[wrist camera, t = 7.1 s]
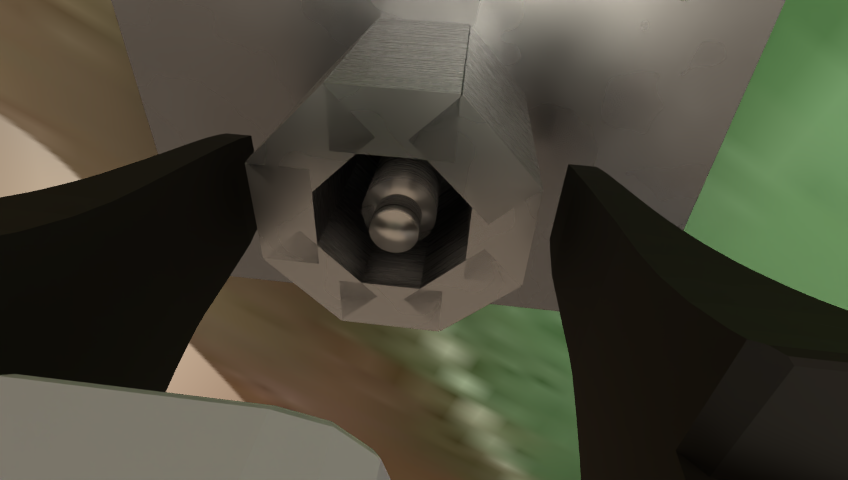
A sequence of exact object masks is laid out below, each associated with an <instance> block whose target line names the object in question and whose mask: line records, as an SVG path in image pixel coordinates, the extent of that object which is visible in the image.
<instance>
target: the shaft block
mask: <svg viewBox="0 0 848 480" xmlns="http://www.w3.org/2000/svg"><path fill="white" fill-rule="evenodd" d="M111 1H112V4H113V7H114V11H115V14H116V17H117V20H118V24H119V27H120V30H121V34H122V37H123V40H124V43H125V47H126V50H127V53H128V57H129V60H130V63H131V66H132V70H133V73H134V76H135V80H136V83H137V86H138V89H139V93H140V96H141V99H142V103H143V106H144V109H145V112H146V116H147V119H148V122H149V126H150V129H151V132H152V135H153V139H154V142H155V145H156V148H157V152H158V154H161V153H164V152H167V151H169V150H172V149H175V148H178V147H181V146H183V145H186V144H189V143H192V142H195V141H198V140H201V139H204V138H207V137H211V136H215V135H219V134H225V133H228V134H239V135H250V136H252V142H253V148H254V152H255V150H256V149H257V148H258V147H259V146H260V145H261V144H262V143H263V141H264V140H265V139H266V138H267V137H268V136H269V135H270V134H271V133H272V131H273V130H274V129H275V128H276V127H277V126H278V125H279V124H280V122H281V121H282V120H283V119H284V118H285V117H286V116H287V115H288V114H289V112H290V111H291V110H292V109H293V108H294V107H295V106H296V105H297V103H298V102H299V101H300V100H301V99H302V98H303V97H304V96H305V95H306V93H307V92H308V91H309V90H310V89H311V88H312V87H313V86H314V84H315V83H316V82H317V81H318V80H319V79H320V78H321V77H322V76H323V75H324V74H325V73H326V72H327V70H328V69H329V68H330V67H331V66H332V65H333V64H334V63H335V62H336V61H337V60H338V59H339V58H340V57H341V56H342V55H343V54H344V53H345V52H346V51H347V50H348V49H349V48H350V47H351V46H352V45H353V44H354V43H355V42H356V41H357V40H358V39H359V38H360V37H361V36H362V35H363V33H364V32H365V31H366V30H367V29H368V28H369V27H370V26H371V25H372V24H373V23H374V22H375V21H376V20H377V19H378V18H394V19H408V20H421V21H435V22H449V23H462V24H470V25H472V27H473V28H474V29H475V30H476V32H477V33H478V34H479V36H480V37H481V38H482V39H483V41H484V42H485V43H486V44H487V46H488V47H489V48H490V50H491V51H492V52H493V53H494V55H495V56H496V57H497V59H498V60H499V61H500V62H501V64H502V65H503V66H504V67H505V69H506V70H507V71H508V73H509V74H510V75H511V76H512V78H513V79H514V80H515V82H516V83H517V84H518V85H519V87H520V88H521V89H522V90H523V92H524V93H525V97H526V102H527V107H528V113H529V118H530V123H531V129H532V134H533V139H534V145H535V150H536V155H537V161H538V166H539V171H540V176H541V182H542V187H543V194H542V199H541V203H540V208H539V213H538V217H537V222H536V226H535V231H534V235H533V240H532V244H531V249H530V253H529V258H528V262H527V267H526V271H525V276H524V280H523V285H521V287H519V288H517V289H516V290H514V291H512V292H510V293H508V294H506V295H505V296H503V297H501V298H499V299H497V300H496V301H494V302H492V303H490V304H497V305H506V306H515V307H525V308H534V309H543V310H553V311H559V307H558V302H557V297H556V293H555V288H554V283H553V278H552V272H551V258H550V235H551V231H552V227H553V223H554V219H555V215H556V211H557V207H558V203H559V199H560V195H561V191H562V187H563V183H564V179H565V175H566V171H567V167H568V164H573V165H584V166H596V167H598V168H600V169H601V170H603V171H604V172H606V173H607V174H608V175H610V176H611V177H612V178H614V179H615V180H616V181H617V182H619V183H620V184H621V185H623V186H624V187H625V188H626V189H628V190H629V191H630V192H631V193H633V194H634V195H635V196H636V197H638V198H639V199H640V200H641V201H643V202H644V203H645V204H647V205H648V206H649V207H651V208H652V209H653V210H655V211H656V212H657V213H659V214H660V215H661V216H663V217H664V218H666V219H667V220H668V221H670V222H671V223H673V224H674V225H676V226H677V227H679V228H680V229H682V230H684V228H685V225H686V223H687V221H688V219H689V216H690V214H691V212H692V210H693V207H694V205H695V203H696V201H697V198H698V196H699V194H700V192H701V189H702V187H703V185H704V183H705V180H706V178H707V176H708V174H709V171H710V169H711V167H712V165H713V162H714V160H715V158H716V156H717V153H718V151H719V149H720V147H721V144H722V142H723V140H724V138H725V135H726V133H727V131H728V129H729V126H730V124H731V122H732V120H733V117H734V115H735V113H736V111H737V108H738V106H739V104H740V102H741V99H742V97H743V95H744V93H745V90H746V88H747V86H748V84H749V81H750V79H751V77H752V75H753V72H754V70H755V68H756V66H757V63H758V61H759V59H760V57H761V54H762V52H763V50H764V48H765V45H766V43H767V41H768V39H769V36H770V34H771V32H772V30H773V27H774V25H775V23H776V21H777V18H778V16H779V14H780V12H781V9H782V7H783V5H784V3H785V0H111ZM442 177H443V176H442V175H441V174H440V173H439V172H438V171H437V170H436V169H435V168H434V167H433V166H432V165H431V164H430V163H429V162H428V160H423V159H412V158H401V157H390V156H381V158H380V160H379V163H378V166H377V168H376V171H375V173H374V176H373V178H372V181H371V183H370V186H369V188H368V191H367V193H366V196H365V198H364V201H363V204H362V216H363V219H364V222H365V224H366V225H367V227H368V228H369V233H370V237H371V239H372V241H373V242H374V243H375V244H376V245H377V246H378V247H379V248H381V249H383V250H385V251H388V252H393V253H400V252H405V251H407V250H409V249H411V248H412V247H413V246H414V245H415V244H416V242H418V241H420V240H422V239H424V238H425V237H426V236H427V235H428V234H429V233H430V232H431V231H432V229H433V227H434V225H435V222H436V215H437V209H438V202H439V196H440V190H441V183H442ZM230 276H235V277H245V278H254V279H263V280H273V281H282V282H291V283H293V282H292V281H291V280H289V279H288V278H287V277H286V276H284V275H283V274H282V273H281V272H279V271H278V270H277V269H275V268H274V267H273V266H272V265H270V264H269V263H268V262H267V261H265V260H264V258H263V256H262V250H261V245H260V240H259V235H258V230H257V231H256V233H255V235H254V237H253V239H252V241H251V244H250V245H249V247H248V248H247V250H246V252H245V253H244V255H243V256H242V258H241V259H240V261H239V263H238V264H237V266H236V267H235V269H234V270H233V272H232V273H231V275H230Z"/></svg>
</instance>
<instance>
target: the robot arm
mask: <svg viewBox="0 0 848 480" xmlns="http://www.w3.org/2000/svg"><path fill="white" fill-rule="evenodd" d="M253 153H254V148H253V142H252V136H250V135H239V134H228V133H225V134H219V135H215V136H211V137H207V138H204V139H201V140H198V141H195V142H192V143H189V144H186V145H183V146H181V147H178V148H175V149H172V150H169V151H167V152H164V153H161V154H158V155H156V156H153V157H150V158H147V159H144V160H141V161H138V162H135V163H132V164H129V165H126V166H123V167H120V168H117V169H114V170H111V171H108V172H105V173H102V174H99V175H95V176H92V177H89V178H85V179H81V180H78V181H74V182H70V183H67V184H62V185H58V186H54V187H50V188H47V189H42V190H37V191H33V192H28V193H22V194H17V195H12V196H6V197H1V198H0V480H391V479H390V477H389V475H388V473H387V471H386V469H385V467H384V465H383V462H382V460H381V458H380V457H379V456H378V455H377V454H376V453H375V451H374V450H373V449H372V448H370V447H369V446H367V445H366V444H364V443H363V442H361V441H360V440H358V439H357V438H355V437H354V436H352V435H351V434H349V433H348V432H346V431H345V430H343V429H342V428H340V427H339V426H338V425H336V424H335V423H333V422H332V421H328V420H324V419H321V418H317V417H314V416H310V415H306V414H303V413H299V412H296V411H292V410H288V409H285V408H281V407H278V406H273V405H265V404H256V403H248V402H240V401H231V400H223V399H215V398H207V397H199V396H190V395H183V394H174V393H167V392H166V390H167V388H168V385H169V383H170V381H171V379H172V377H173V375H174V372H175V370H176V368H177V366H178V364H179V362H180V360H181V358H182V356H183V354H184V352H185V349H186V348H187V346H188V344H189V342H190V340H191V338H192V336H193V334H194V332H195V330H196V328H197V326H198V325H199V323H200V321H201V320H202V318H203V316H204V314H205V313H206V311H207V310H208V308H209V307H210V305H211V304H212V302H213V301H214V299H215V298H216V296H217V295H218V293H219V292H220V290H221V289H222V287H223V285H224V284H225V282H226V281H227V279H228V278H229V276H230V275H231V273H232V272H233V270H234V269H235V267H236V266H237V264H238V263H239V261H240V259H241V258H242V256H243V255H244V253H245V252H246V250H247V248H248V247H249V245H250V244H251V241H252V239H253V237H254V235H255V233H256V231H257V224H256V219H255V214H254V209H253V203H252V198H251V193H250V188H249V183H248V177H247V172H246V167H245V163H246V160H247V159H248V158H249V157H250V156H251V155H252V154H253ZM550 258H551V272H552V278H553V283H554V288H555V293H556V297H557V302H558V307H559V311H560V316H561V320H562V325H563V329H564V334H565V338H566V343H567V347H568V352H569V357H570V363H571V368H572V375H573V385H574V395H575V405H576V416H577V428H578V440H579V453H580V468H581V480H848V311H847V310H845V309H842V308H839V307H837V306H834V305H831V304H829V303H826V302H824V301H821V300H818V299H816V298H814V297H811V296H809V295H806V294H804V293H802V292H799V291H797V290H794V289H792V288H790V287H787V286H785V285H783V284H781V283H779V282H777V281H775V280H772V279H770V278H768V277H766V276H764V275H762V274H760V273H757V272H755V271H753V270H751V269H749V268H747V267H745V266H743V265H741V264H739V263H737V262H735V261H734V260H732V259H730V258H728V257H726V256H725V255H723V254H721V253H719V252H718V251H716V250H714V249H712V248H710V247H709V246H707V245H705V244H703V243H702V242H700V241H699V240H697V239H695V238H694V237H692V236H691V235H689V234H688V233H686V232H685V231H683V230H682V229H680V228H679V227H677V226H676V225H674V224H673V223H671V222H670V221H668V220H667V219H666V218H664V217H663V216H661V215H660V214H659V213H657V212H656V211H655V210H653V209H652V208H651V207H649V206H648V205H647V204H645V203H644V202H643V201H641V200H640V199H639V198H638V197H636V196H635V195H634V194H633V193H631V192H630V191H629V190H628V189H626V188H625V187H624V186H623V185H621V184H620V183H619V182H617V181H616V180H615V179H614V178H612V177H611V176H610V175H608V174H607V173H606V172H604V171H603V170H601V169H600V168H598V167H596V166H584V165H573V164H568V167H567V171H566V175H565V179H564V183H563V187H562V191H561V195H560V199H559V203H558V207H557V211H556V215H555V219H554V223H553V227H552V231H551V235H550Z"/></svg>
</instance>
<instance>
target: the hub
mask: <svg viewBox="0 0 848 480" xmlns="http://www.w3.org/2000/svg"><path fill="white" fill-rule="evenodd" d="M381 156H390V157H401V158H412V159H423V160H428V162H429V163H430V164H431V165H432V166H433V167H434V168H435V169H436V170H437V171H438V172H439V173H440V174H441V175H442V176H443V177H442V183H441V190H440V196H439V202H438V209H437V215H436V222H435V225H434V227H433V229H432V231H431V232H430V233H429V234H428V235H427V236H426V237H425V238H424V239H422V240H420V241H418V242H416V244H415V245H414V246H413V247H412V248H411V249H409V250H407V251H405V252H400V253H393V252H388V251H385V250H383V249H381V248H379V247H378V246H377V245H376V244H375V243H374V242H373V241H372V239H371V237H370V233H369V228H368V227H367V225H366V224H365V222H364V219H363V216H362V204H363V201H364V198H365V196H366V193H367V191H368V188H369V186H370V183H371V181H372V178H373V176H374V173H375V171H376V168H377V166H378V163H379V160H380V158H381ZM245 167H246V172H247V177H248V183H249V188H250V193H251V198H252V203H253V209H254V214H255V219H256V224H257V230H258V235H259V240H260V245H261V250H262V256H263V258H264V260H265V261H267V262H268V263H269V264H270V265H272V266H273V267H274V268H275V269H277V270H278V271H279V272H281V273H282V274H283V275H284V276H286V277H287V278H288V279H289V280H291V281H292V282H293V283H294V284H296V285H297V286H298V287H300V288H301V289H302V290H303V291H305V292H306V293H307V294H308V295H310V296H311V297H312V298H314V299H315V300H316V301H317V302H319V303H320V304H321V305H322V306H324V307H325V308H326V309H328V310H329V311H330V312H331V313H333V314H334V315H335V316H336V317H338V318H339V319H340V320H342V321H350V322H360V323H369V324H378V325H387V326H396V327H405V328H414V329H423V330H432V331H439V330H440V331H441V330H443V329H445V328H447V327H448V326H450V325H452V324H454V323H456V322H458V321H459V320H461V319H463V318H465V317H467V316H468V315H470V314H472V313H474V312H476V311H477V310H479V309H481V308H483V307H485V306H487V305H488V304H490V303H492V302H494V301H496V300H497V299H499V298H501V297H503V296H505V295H506V294H508V293H510V292H512V291H514V290H516V289H517V288H519V287H521V285H523V280H524V276H525V271H526V267H527V262H528V258H529V253H530V249H531V244H532V240H533V235H534V231H535V226H536V222H537V217H538V213H539V208H540V203H541V199H542V194H543V187H542V182H541V176H540V171H539V166H538V161H537V155H536V150H535V145H534V139H533V134H532V129H531V123H530V118H529V113H528V107H527V102H526V97H525V93H524V92H523V90H522V89H521V88H520V87H519V85H518V84H517V83H516V82H515V80H514V79H513V78H512V76H511V75H510V74H509V73H508V71H507V70H506V69H505V67H504V66H503V65H502V64H501V62H500V61H499V60H498V59H497V57H496V56H495V55H494V53H493V52H492V51H491V50H490V48H489V47H488V46H487V44H486V43H485V42H484V41H483V39H482V38H481V37H480V36H479V34H478V33H477V32H476V30H475V29H474V28H473V27H472V25H470V24H462V23H449V22H435V21H421V20H408V19H394V18H378V19H377V20H376V21H375V22H374V23H373V24H372V25H371V26H370V27H369V28H368V29H367V30H366V31H365V32H364V33H363V35H362V36H361V37H360V38H359V39H358V40H357V41H356V42H355V43H354V44H353V45H352V46H351V47H350V48H349V49H348V50H347V51H346V52H345V53H344V54H343V55H342V56H341V57H340V58H339V59H338V60H337V61H336V62H335V63H334V64H333V65H332V66H331V67H330V68H329V69H328V70H327V72H326V73H325V74H324V75H323V76H322V77H321V78H320V79H319V80H318V81H317V82H316V83H315V84H314V86H313V87H312V88H311V89H310V90H309V91H308V92H307V93H306V95H305V96H304V97H303V98H302V99H301V100H300V101H299V102H298V103H297V105H296V106H295V107H294V108H293V109H292V110H291V111H290V112H289V114H288V115H287V116H286V117H285V118H284V119H283V120H282V121H281V122H280V124H279V125H278V126H277V127H276V128H275V129H274V130H273V131H272V133H271V134H270V135H269V136H268V137H267V138H266V139H265V140H264V141H263V143H262V144H261V145H260V146H259V147H258V148H257V149H256V150H255V152H254V153H253V154H252V155H251V156H250V157H249V158H248V159H247V160H246V163H245Z"/></svg>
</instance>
